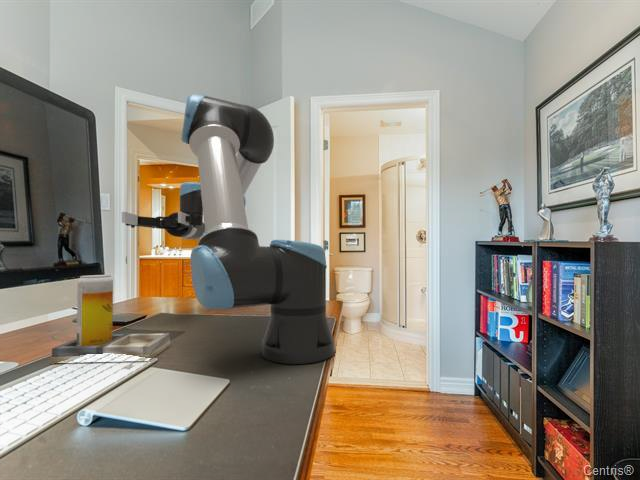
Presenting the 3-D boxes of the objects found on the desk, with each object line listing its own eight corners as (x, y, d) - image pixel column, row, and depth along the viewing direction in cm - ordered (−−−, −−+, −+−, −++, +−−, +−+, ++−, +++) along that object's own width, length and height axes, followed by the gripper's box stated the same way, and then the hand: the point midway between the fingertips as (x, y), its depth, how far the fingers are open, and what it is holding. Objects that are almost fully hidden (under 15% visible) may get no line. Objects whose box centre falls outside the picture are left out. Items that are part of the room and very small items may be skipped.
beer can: (117, 346, 68) (118, 275, 69) (84, 354, 63) (85, 277, 63) (103, 342, 71) (104, 274, 72) (71, 349, 66) (72, 276, 67)
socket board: (170, 345, 73) (170, 332, 73) (148, 361, 62) (148, 347, 62) (87, 347, 72) (87, 334, 72) (49, 364, 61) (50, 349, 61)
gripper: (221, 236, 103) (202, 231, 82) (140, 237, 101) (99, 232, 80) (221, 213, 103) (202, 202, 82) (140, 213, 101) (99, 202, 80)
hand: (151, 217), depth 81 cm, fingers open, 13 cm apart
